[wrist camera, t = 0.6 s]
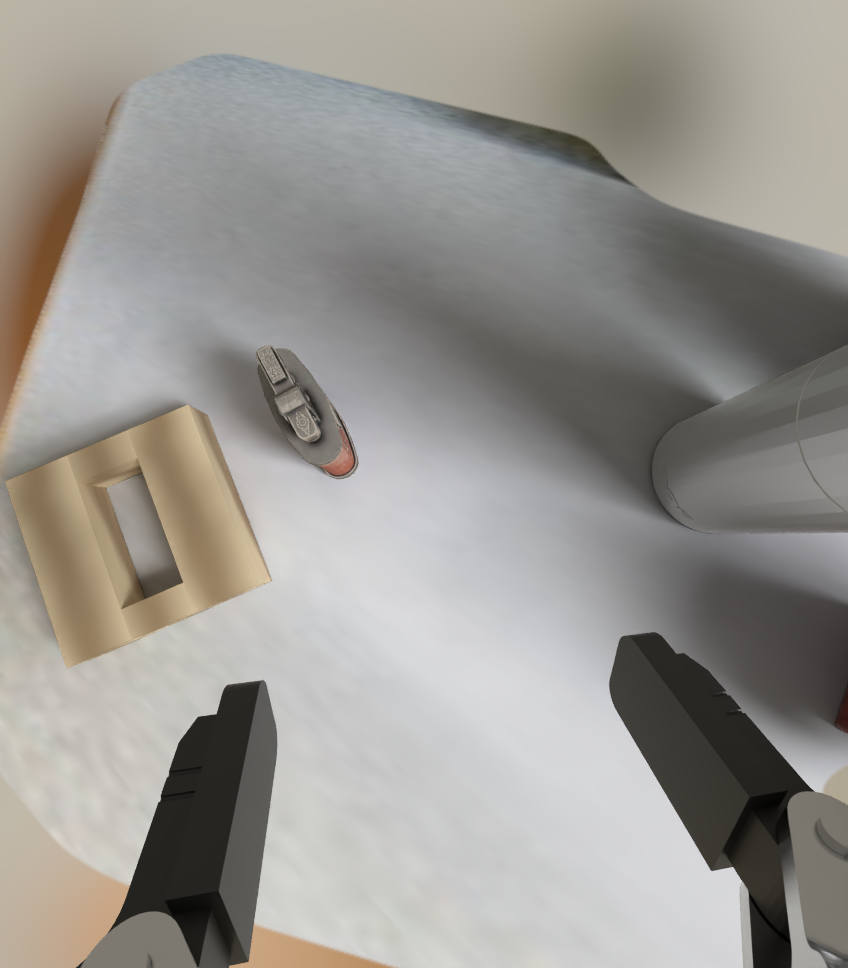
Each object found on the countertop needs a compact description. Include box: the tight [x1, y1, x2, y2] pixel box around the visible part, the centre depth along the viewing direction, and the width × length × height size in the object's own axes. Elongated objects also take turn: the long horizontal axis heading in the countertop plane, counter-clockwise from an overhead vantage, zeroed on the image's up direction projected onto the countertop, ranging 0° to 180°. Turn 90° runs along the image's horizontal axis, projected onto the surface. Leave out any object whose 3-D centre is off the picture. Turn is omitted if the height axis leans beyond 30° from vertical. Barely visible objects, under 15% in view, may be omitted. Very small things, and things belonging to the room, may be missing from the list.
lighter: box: [256, 345, 359, 479], centre depth 31 cm, size 8×3×10 cm, turn 29°
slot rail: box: [5, 405, 272, 668], centre depth 34 cm, size 14×14×3 cm
